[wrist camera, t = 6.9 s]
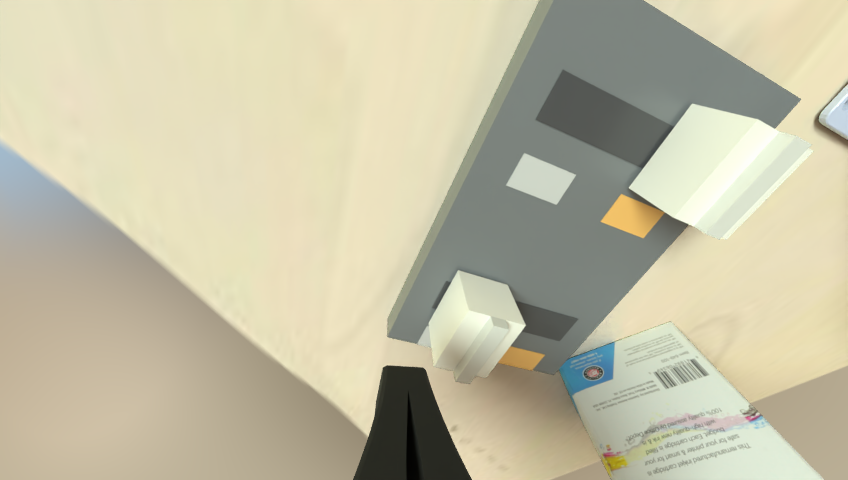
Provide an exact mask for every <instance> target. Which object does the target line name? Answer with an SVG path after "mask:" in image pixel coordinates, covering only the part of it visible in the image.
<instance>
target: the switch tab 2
mask: <svg viewBox="0 0 848 480" xmlns="http://www.w3.org/2000/svg"><path fill="white" fill-rule="evenodd" d="M810 146H811V144H810V143H808V142H806V141H805V140H803V139H801V138H799V137H798V136H795V135H791V134H787V133H783V132H779V131H778V130H776V129H774V128H772V127H771V126H769V125H767V124H765V123H764V122H762V121H760V120H758V119H754V118H750V117H746V116H742V115H738V114H734V113H729V112H725V111H721V110H717V109H713V108H708V107H704V106H700V105H696V104H691V106H690V107H689V108H688V110H687V111H686V112H685V114H684V115H683V116H682V118H681V119H680V120H679V122H678V123H677V124H676V126H675V127H674V128H673V130H672V131H671V132H670V134H669V135H668V136H667V138H666V139H665V140H664V142H663V143H662V144H661V146H660V147H659V148H658V149H657V151H656V152H655V153H654V155H653V156H652V157H651V159H650V160H649V161H648V163H647V164H646V165H645V167H644V168H643V169H642V171H641V172H640V173H639V175H638V176H637V177H636V179H635V180H634V181H633V183H632V184H631V185H630V187H629V189H631V190H632V191H634V192H635V193H637V194H638V195H640V196H641V197H643V198H644V199H646V200H647V201H649V202H650V203H652V204H653V205H655V206H656V207H658V208H659V209H661V210H662V211H664V212H665V213H667V214H668V215H670V216H671V217H673V218H675V219H678V220H680V221H682V222H685V223H687V224H689V225H692V226H694V227H695V228H697V229H699V230H700V231H702V232H703V233H705V234H707V235H709V236H712V237H714V238H717V239H719V240H720V239H721V238H723V239H725V240H727V239H728V238H729V237H730V236H731V234H732V233H733V232H734V231H735V230H736V229H737V228H738V227H739V226H740V225H741V224H742V223H743V222H744V221H745V220H746V219H747V218H748V217H749V216H750V215H751V214H752V213H753V212H754V211H755V210H756V209H757V208H758V207H759V206H760V205H761V204H762V203H763V202H764V201H765V200H766V199H767V198H768V197H769V196H770V195H771V194H772V193H773V192H774V191H775V190H776V189H777V188H778V187H779V186H780V185H781V184H782V183H783V182H784V181H785V180H786V179H787V178H788V177H789V176H790V175H791V174H792V173H793V172H794V170H795V169H796V168H797V167H798V166H799V165H800V164H801V163H802V162H803V161H804V160H805V159H806V158H807V157H808V156H809V155H810V154H811V153H812V152H813V150H811V149H809V147H810Z"/></svg>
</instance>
